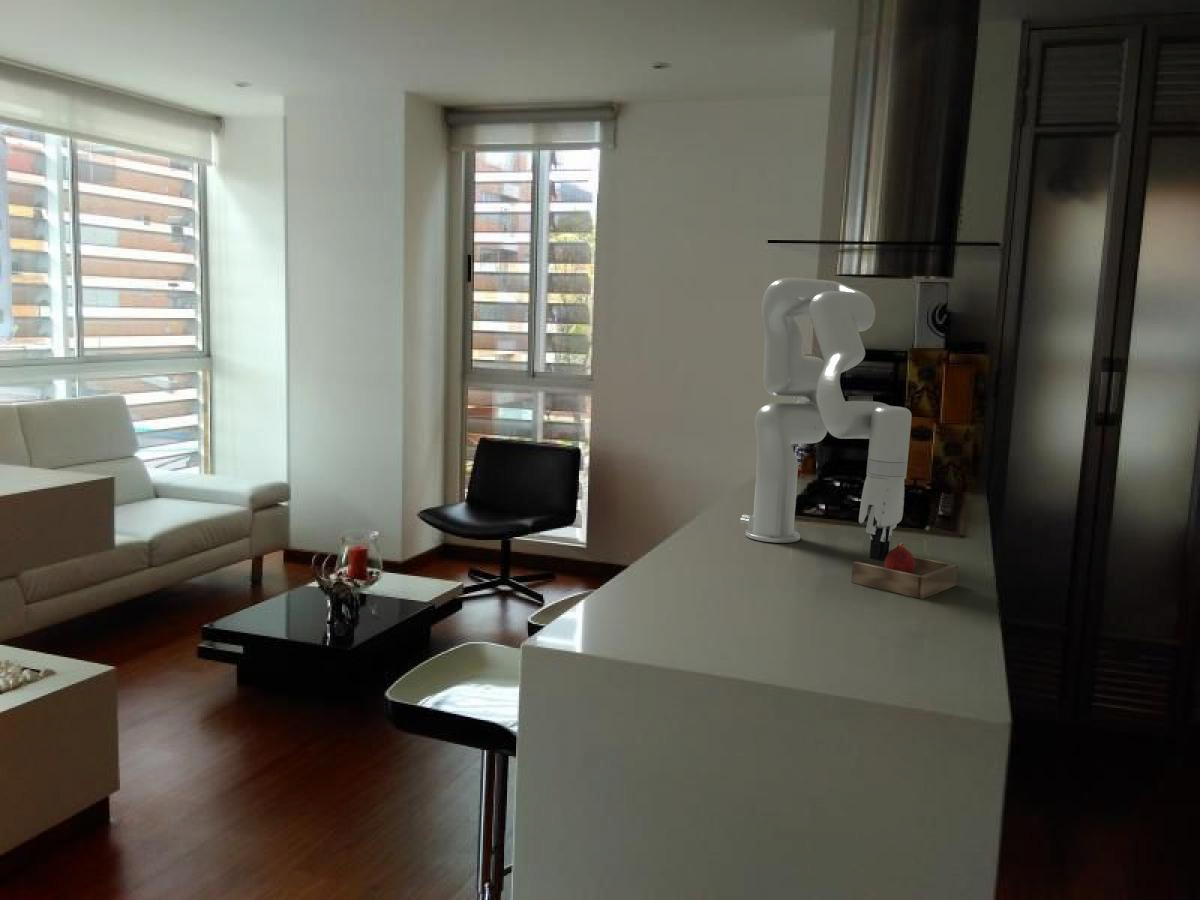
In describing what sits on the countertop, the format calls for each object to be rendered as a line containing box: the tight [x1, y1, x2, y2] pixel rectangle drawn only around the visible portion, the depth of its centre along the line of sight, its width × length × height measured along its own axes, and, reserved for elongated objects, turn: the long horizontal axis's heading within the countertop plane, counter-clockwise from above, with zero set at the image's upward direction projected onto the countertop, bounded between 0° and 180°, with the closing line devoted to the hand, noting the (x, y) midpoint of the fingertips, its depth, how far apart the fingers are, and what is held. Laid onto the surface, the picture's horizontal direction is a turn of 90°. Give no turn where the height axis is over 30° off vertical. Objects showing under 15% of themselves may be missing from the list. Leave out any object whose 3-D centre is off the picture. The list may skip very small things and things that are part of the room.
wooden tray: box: [851, 550, 959, 600], centre depth 188 cm, size 15×15×4 cm
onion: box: [883, 542, 915, 574], centre depth 188 cm, size 6×6×8 cm
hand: (878, 559), depth 191 cm, fingers closed
